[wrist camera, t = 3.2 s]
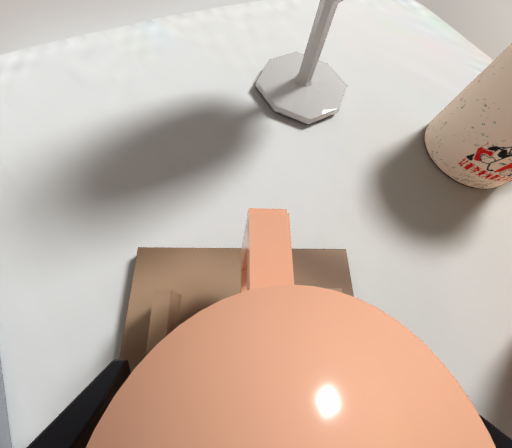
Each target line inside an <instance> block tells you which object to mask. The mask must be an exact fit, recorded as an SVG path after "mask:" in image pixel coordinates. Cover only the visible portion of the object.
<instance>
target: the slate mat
mask: <svg viewBox="0 0 512 448" xmlns="http://www.w3.org/2000/svg"><path fill="white" fill-rule="evenodd" d="M0 448H12V446H11V438H10V430H9V422H8V415H7V407H6V399H5V391H4V384H3V376H2V368H1V360H0Z"/></svg>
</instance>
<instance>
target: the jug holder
mask: <svg viewBox="0 0 512 448" xmlns="http://www.w3.org/2000/svg"><path fill="white" fill-rule="evenodd" d="M241 249H242V248H144V247H138V251H137V257H136V263H135V269H134V275H133V281H132V287H131V293H130V299H129V305H128V311H127V317H126V323H125V329H124V335H123V341H122V347H121V353H120V359H127V360H128V362H129V367H130V371H131V373H132V371H133V370H134V369H135V368H136V367H137V365H138V364H139V363H140V362H141V361H142V360H143V359H144V358H145V357H146V356H147V355H148V353H149V352H150V351H151V350H152V349H153V348H154V347H155V346H156V345H157V344H158V343H159V342H160V341H161V340H163V339H164V338H165V337H166V336H167V335H168V334H170V333H171V332H172V331H173V330H174V329H175V328H176V327H178V326H179V325H180V324H182V323H183V322H185V321H186V320H188V319H189V318H191V317H192V316H194V315H195V314H196V313H198V312H199V311H201V310H203V309H205V308H207V307H209V306H211V305H213V304H215V303H217V302H219V301H220V300H222V299H225V298H228V297H230V296H233V295H236V294H239V293H240V268H241ZM292 260H293V274H294V285H305V286H316V287H320V288H325V289H330V290H335V291H338V292H341V293H344V294H347V295H350V296H353V297H354V295H353V289H352V283H351V277H350V271H349V265H348V259H347V253H346V249H292Z"/></svg>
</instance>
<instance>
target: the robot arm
mask: <svg viewBox="0 0 512 448" xmlns="http://www.w3.org/2000/svg"><path fill="white" fill-rule="evenodd" d="M130 374H131V371H130V367H129V362H128V360H127V359H116V360H113V361H112V362H111V363H110V364H109V365H108V366H107V367H106V368H105V369H104V370H103V371H102V372H101V373H100V374H99V375H98V376H97V377H96V378H95V379H94V380H93V381H92V382H91V383H90V384H89V385H88V386H87V387H86V388H85V389H84V390H83V391H82V392H81V393H80V394H79V395H78V396H77V397H76V398H75V399H74V400H73V401H72V402H71V403H70V404H69V405H68V406H67V407H66V408H65V409H64V410H63V411H62V412H61V413H60V414H59V415H58V417H57V418H56V419H55V420H54V421H53V422H52V423H51V424H50V425H49V426H48V427H47V428H46V429H45V430H44V431H43V432H42V433H41V434H40V435H39V436H38V437H37V438H36V439H35V440H34V441H33V442H32V443H31V444H30V445H29V446H28V447H27V448H86V446H87V444H88V442H89V440H90V438H91V436H92V434H93V431H94V429H95V428H96V426H97V424H98V423H99V421H100V419H101V418H102V416H103V414H104V412H105V411H106V409H107V407H108V406H109V404H110V402H111V401H112V399H113V397H114V396H115V394H116V393H117V392H118V390H119V389H120V388H121V386H122V385H123V384H124V382H125V381H126V380H127V378H128V377H129V376H130ZM479 416H480V415H479ZM480 418H481V419H482V421H483V423H484V425H485V427H486V428H487V430H488V432H489V434H490V436H491V438H492V440H493V442H494V445H495V447H496V448H512V439H510V438H509V437H508V436H506V435H505V434H504V433H502V432H501V431H500V430H499V429H497V428H496V427H495V426H493V425H492V424H491V423H489V422H488V421H487V420H486V419H484V418H483V417H482V416H480Z"/></svg>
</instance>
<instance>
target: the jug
mask: <svg viewBox="0 0 512 448" xmlns="http://www.w3.org/2000/svg"><path fill="white" fill-rule="evenodd" d="M86 448H496V447H495V445H494V442H493V440H492V438H491V436H490V434H489V432H488V430H487V428H486V427H485V425H484V423H483V421H482V419H481V418H480V416H479V414H478V412H477V410H476V409H475V407H474V405H473V404H472V402H471V401H470V399H469V398H468V396H467V395H466V393H465V392H464V390H463V389H462V387H461V386H460V384H459V383H458V381H457V380H456V379H455V378H454V376H453V375H452V374H451V373H450V371H449V370H448V369H447V368H446V367H445V365H444V364H443V363H442V362H441V360H440V359H439V358H438V357H437V356H436V355H435V354H434V353H433V352H432V351H431V350H430V349H429V348H428V347H427V346H426V345H425V344H424V343H423V342H422V341H421V340H420V339H419V338H418V337H417V336H416V335H414V334H413V333H412V332H411V331H410V330H408V329H407V328H406V327H405V326H403V325H402V324H401V323H400V322H398V321H397V320H395V319H394V318H392V317H391V316H389V315H388V314H386V313H384V312H383V311H381V310H380V309H378V308H376V307H374V306H372V305H370V304H368V303H366V302H364V301H362V300H360V299H358V298H356V297H353V296H350V295H347V294H344V293H341V292H338V291H335V290H330V289H325V288H320V287H316V286H305V285H294V274H293V260H292V247H291V233H290V220H289V213H287V209H256V208H249V209H248V215H247V221H246V226H245V232H244V238H243V244H242V249H241V268H240V293H239V294H236V295H233V296H230V297H228V298H225V299H222V300H220V301H219V302H217V303H215V304H213V305H211V306H209V307H207V308H205V309H203V310H201V311H199V312H198V313H196V314H195V315H194V316H192V317H191V318H189V319H188V320H186V321H185V322H183V323H182V324H180V325H179V326H178V327H176V328H175V329H174V330H173V331H172V332H171V333H170V334H168V335H167V336H166V337H165V338H164V339H163V340H161V341H160V342H159V343H158V344H157V345H156V346H155V347H154V348H153V349H152V350H151V351H150V352H149V353H148V355H147V356H146V357H145V358H144V359H143V360H142V361H141V362H140V363H139V364H138V365H137V367H136V368H135V369H134V370H133V371H132V373H131V374H130V376H129V377H128V378H127V380H126V381H125V382H124V384H123V385H122V386H121V388H120V389H119V390H118V392H117V393H116V394H115V396H114V397H113V399H112V401H111V402H110V404H109V406H108V407H107V409H106V411H105V412H104V414H103V416H102V418H101V419H100V421H99V423H98V424H97V426H96V428H95V429H94V431H93V434H92V436H91V438H90V440H89V442H88V444H87V446H86Z"/></svg>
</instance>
